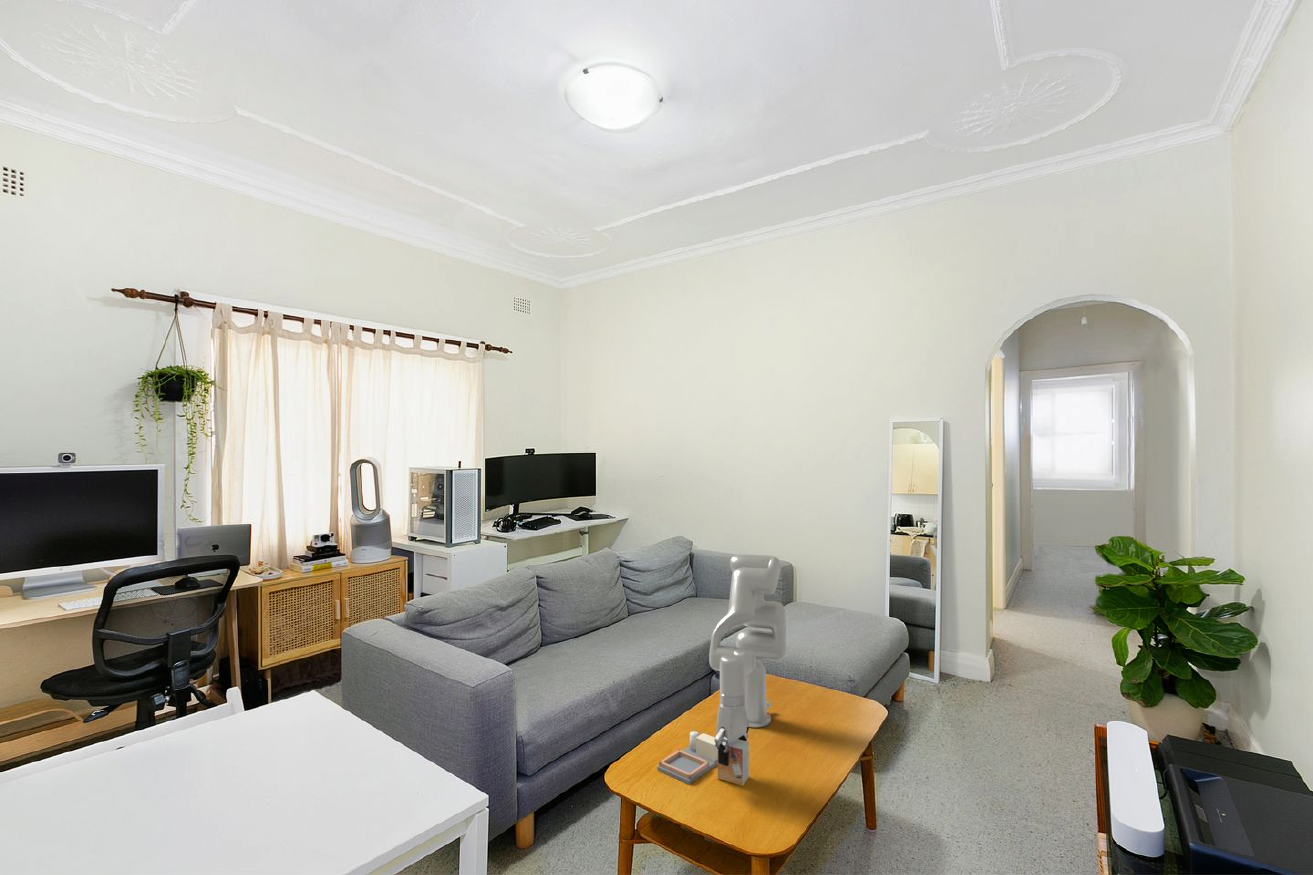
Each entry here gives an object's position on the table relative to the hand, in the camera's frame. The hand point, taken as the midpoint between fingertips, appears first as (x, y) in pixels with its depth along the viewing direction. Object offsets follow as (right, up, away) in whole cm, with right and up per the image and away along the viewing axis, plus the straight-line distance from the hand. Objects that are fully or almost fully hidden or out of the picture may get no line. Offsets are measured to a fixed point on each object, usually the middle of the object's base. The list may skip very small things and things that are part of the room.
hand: (732, 757), depth 173 cm
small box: (0, -6, 0) cm, 6 cm away
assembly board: (-12, -6, +8) cm, 16 cm away
